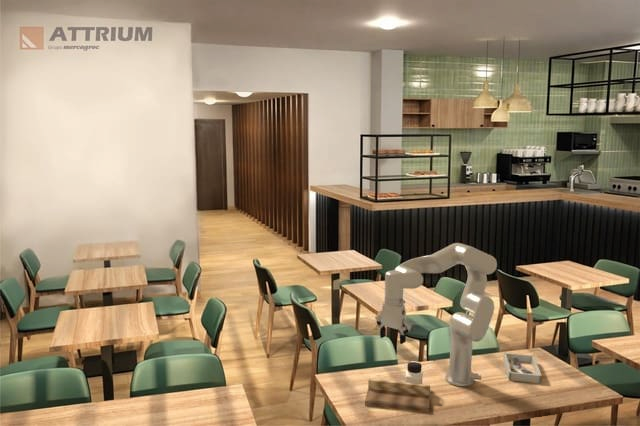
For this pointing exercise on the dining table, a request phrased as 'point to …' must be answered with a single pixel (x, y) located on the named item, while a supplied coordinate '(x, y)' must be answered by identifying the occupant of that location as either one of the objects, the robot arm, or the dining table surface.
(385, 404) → the board
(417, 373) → the medicine bottle
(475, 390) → the dining table surface
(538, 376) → the grey tray
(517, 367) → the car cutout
